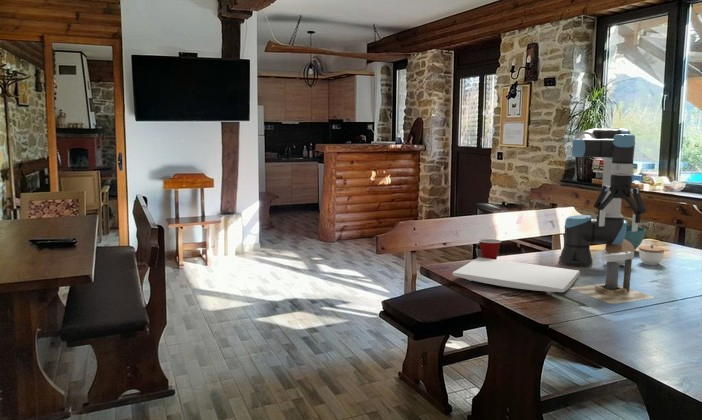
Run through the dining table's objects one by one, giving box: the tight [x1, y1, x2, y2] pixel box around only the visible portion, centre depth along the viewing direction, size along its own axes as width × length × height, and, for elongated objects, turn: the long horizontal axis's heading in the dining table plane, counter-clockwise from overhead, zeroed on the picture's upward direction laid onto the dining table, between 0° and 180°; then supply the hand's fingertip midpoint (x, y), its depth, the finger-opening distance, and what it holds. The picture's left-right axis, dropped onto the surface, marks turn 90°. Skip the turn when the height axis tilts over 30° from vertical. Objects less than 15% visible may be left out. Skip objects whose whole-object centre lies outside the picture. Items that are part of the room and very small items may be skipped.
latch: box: [601, 251, 635, 263], centre depth 217 cm, size 4×14×2 cm, turn 112°
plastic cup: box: [478, 238, 502, 260], centre depth 267 cm, size 11×11×12 cm
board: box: [452, 257, 580, 295], centre depth 239 cm, size 45×32×5 cm
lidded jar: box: [638, 244, 665, 266], centre depth 268 cm, size 11×11×9 cm
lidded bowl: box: [604, 239, 636, 266], centre depth 265 cm, size 13×13×11 cm
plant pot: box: [624, 224, 647, 250], centre depth 296 cm, size 18×18×12 cm
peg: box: [604, 261, 620, 290], centre depth 217 cm, size 4×4×12 cm
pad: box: [551, 292, 587, 307], centre depth 214 cm, size 14×9×1 cm, turn 22°
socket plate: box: [568, 259, 656, 305], centre depth 217 cm, size 22×22×14 cm
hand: (617, 228), depth 219 cm, fingers open, 13 cm apart
